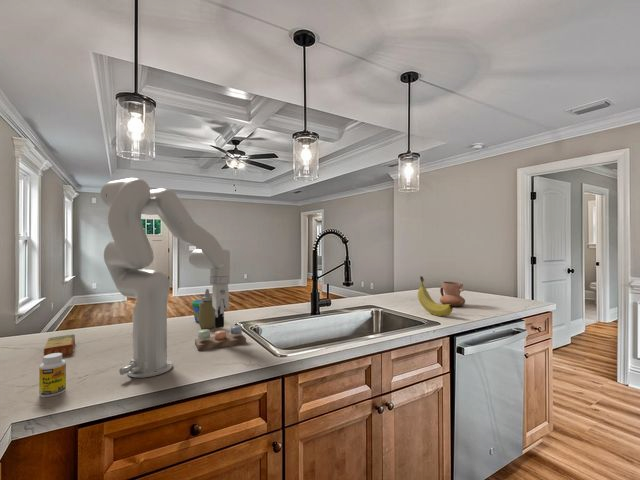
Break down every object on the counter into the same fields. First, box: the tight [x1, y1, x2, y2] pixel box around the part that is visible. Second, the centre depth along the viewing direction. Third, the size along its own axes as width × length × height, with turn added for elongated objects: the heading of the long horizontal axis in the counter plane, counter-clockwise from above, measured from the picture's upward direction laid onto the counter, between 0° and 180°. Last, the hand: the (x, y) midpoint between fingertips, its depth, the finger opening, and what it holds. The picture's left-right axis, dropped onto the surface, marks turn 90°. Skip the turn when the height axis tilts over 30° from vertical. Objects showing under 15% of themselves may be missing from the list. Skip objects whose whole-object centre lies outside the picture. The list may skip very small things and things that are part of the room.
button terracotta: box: [214, 330, 227, 340], centre depth 129 cm, size 4×4×2 cm
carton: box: [43, 334, 76, 357], centre depth 122 cm, size 8×16×4 cm, turn 35°
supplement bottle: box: [38, 353, 67, 398], centre depth 88 cm, size 6×6×10 cm
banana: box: [417, 275, 454, 317], centre depth 177 cm, size 23×6×20 cm, turn 29°
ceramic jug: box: [439, 281, 466, 308], centre depth 202 cm, size 18×14×14 cm
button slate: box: [230, 324, 243, 334], centre depth 132 cm, size 4×4×2 cm
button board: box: [194, 333, 247, 352], centre depth 129 cm, size 18×9×2 cm, turn 118°
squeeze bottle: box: [198, 288, 215, 330], centre depth 153 cm, size 8×8×18 cm
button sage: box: [197, 329, 211, 339], centre depth 126 cm, size 4×4×2 cm
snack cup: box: [191, 298, 202, 323], centre depth 166 cm, size 16×10×10 cm
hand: (219, 327), depth 129 cm, fingers closed
